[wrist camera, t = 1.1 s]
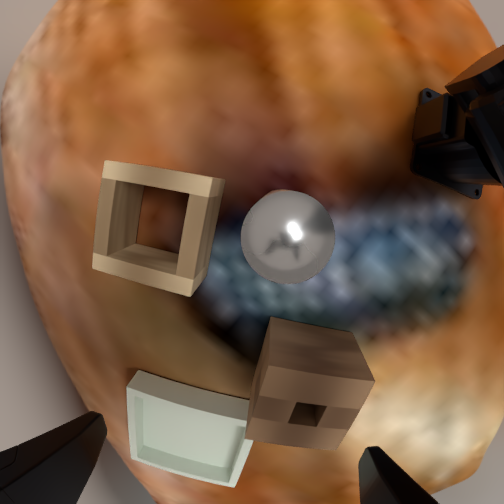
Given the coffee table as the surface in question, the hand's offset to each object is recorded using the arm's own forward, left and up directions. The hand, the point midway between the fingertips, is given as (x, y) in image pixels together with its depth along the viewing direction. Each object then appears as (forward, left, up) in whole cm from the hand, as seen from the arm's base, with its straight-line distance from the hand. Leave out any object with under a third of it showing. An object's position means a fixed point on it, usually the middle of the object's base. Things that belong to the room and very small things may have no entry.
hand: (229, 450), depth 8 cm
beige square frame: (+7, -5, -12) cm, 15 cm away
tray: (+3, +13, -12) cm, 18 cm away
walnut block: (-4, +3, -12) cm, 14 cm away
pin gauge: (0, -7, -12) cm, 14 cm away
